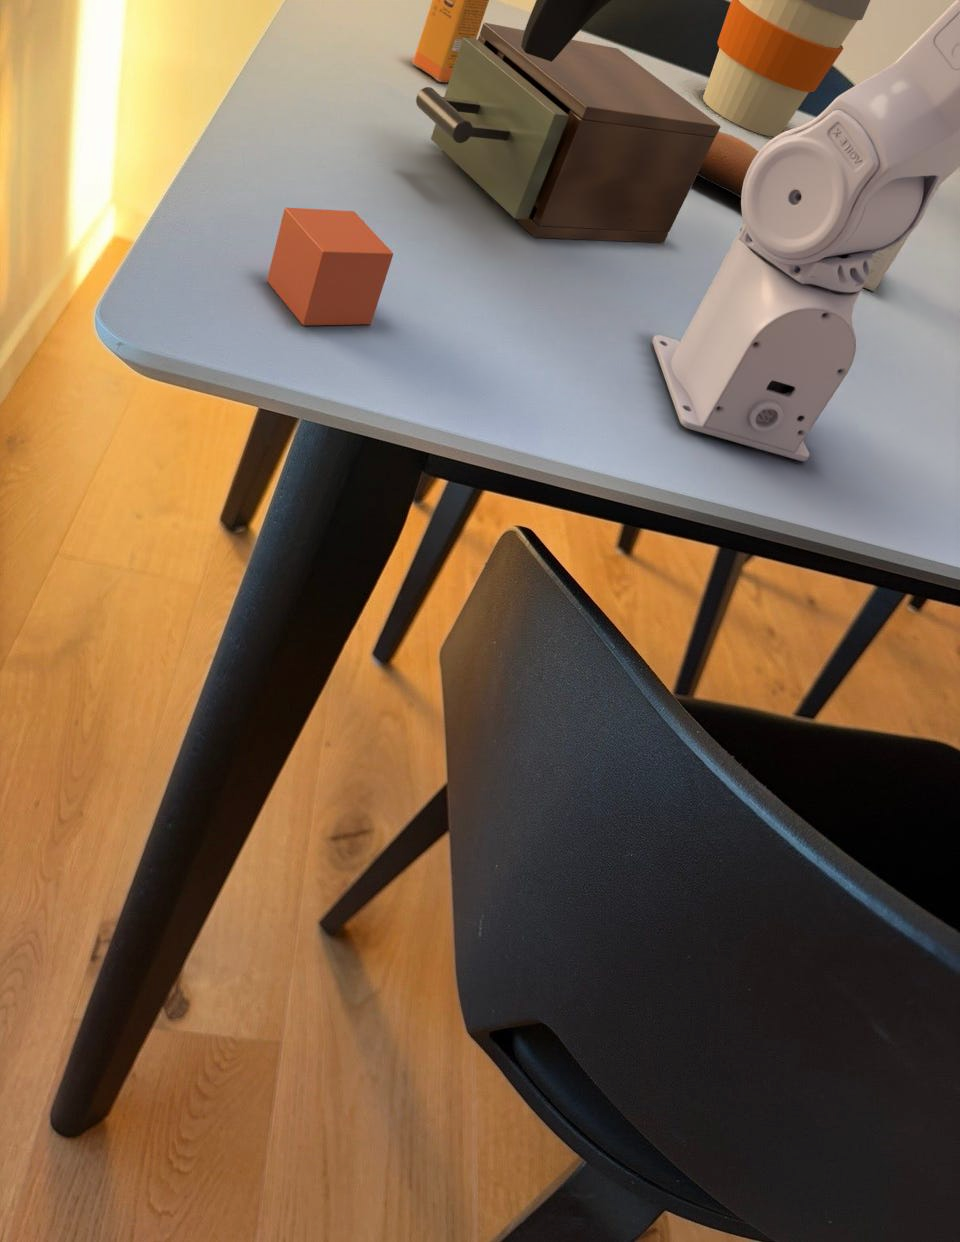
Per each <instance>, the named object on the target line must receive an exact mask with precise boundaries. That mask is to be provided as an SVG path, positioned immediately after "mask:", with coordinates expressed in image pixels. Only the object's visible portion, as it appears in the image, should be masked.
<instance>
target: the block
mask: <svg viewBox="0 0 960 1242" xmlns="http://www.w3.org/2000/svg"><path fill="white" fill-rule="evenodd" d="M280 221H281V222H280V225H279V229H278V234H277V238H276V242H275V245H274V246H275V247H274V250H273V253H272V257H271V262H270V266H269V270H268V273H267V279H266V282H267V283H268V285H270V287H271V288H272V290H274V292H275V293H276V294H277V295H278V297H279V298H280V299H281V300H282V301H283V302H284V304H285V305H286V306H287V307H288V309H289V310H290V311H291V312H292V314H293V315H294V316H295V317H296V318H297V320H298V321H299V322H300V324H301V325H302V326H344V325H345V326H346V325H347V326H348V325H349V326H352V325H371V324H372V323H373V318H374V316H375V313H376V311H377V307H378V303H379V300H380V297H381V294H382V291H383V288H384V285H385V282H386V279H387V275H388V272H389V269H390V266H391V263H392V260H393V256H394V252H393V251H392V250H391V249H390V248H389V247H388V246H387V245H386V244H385V243H384V242H383V241H382V239H381V238H380V237H379V236H378V235H377V234H376V233H375V232H374V230H372V229H371V228H370V226H368V224H367V223H366V222H365V221H364V220H363V219H362V218H361V216H359V215H358V214H357V212H356V211H354V210H338V209H322V208H320V209H319V208H302V207H301V208H300V207H284V209H283V212H282V217H281V220H280Z"/></svg>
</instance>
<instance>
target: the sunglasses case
mask: <svg viewBox="0 0 960 1242" xmlns="http://www.w3.org/2000/svg"><path fill="white" fill-rule="evenodd" d="M714 138H715V139H714V141H713V143H712V145H711V147H710V149H709V151H708V153H707V155H706V158H705V160H704V162H703V164H702V166H701V168H700V170H699V172H698V174H697V176H699V177H701V178H703V179H705V180H706V181H708V182H711V183H712V184H715V185H717V186H719V187H721V188H722V189H724V190H727V191H728V192H730V193H732V194H734V195H736V196H737V197H740V198H741V195H742V188H743V183H744V179H745V176H746V173H747V171H748V169H749V167H750V165H751V163H752V161H753V159H754V158H755V156H756V155H757V153H758V152H759V151H758V150H757V149H756V148H755V147H753V146H752V145H750V144H749V143H747V142H745V141H744V140H743V139H740V138H738V137H736V136H734V135H732V134H729V133H725V132H722V131H720V130H719V131H718V133H717V135H716V137H714Z"/></svg>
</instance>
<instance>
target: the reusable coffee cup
mask: <svg viewBox="0 0 960 1242" xmlns="http://www.w3.org/2000/svg"><path fill="white" fill-rule="evenodd" d="M870 3H871V0H730V3H729V6H728V9H727V12H726V16H725V18H724V21H723V24H722V26H721V27H722V28H721V30H720V33H719V36H718V39H717V42H716V43H717V46H718V52H717V55H716V57H715V61H714V64H713V66H712V70H711V72H710V75H709V78H708V81H707V83H706V86H705V89H704V93H703V96H702V100H703V101H704V103H705V104H706V105H707V106H708V108H710V109H711V110H713V111H714V112H715V113H717V114H718V115H720V116H721V117H723V118H724V119H726V120H727V121H729V122H731V123H733V124H735V125H737V126H739V127H741V128H743V129H746V130H749V131H751V132H753V133H756V134H759V135H761V136H762V135H764V136H766V137H773V138H774V137H776V136H777V135H779V134H781V133H783V132H784V130H785V129H786V127H787V125H788V124H789V123H790V121H791V120H792V118H793V117H794V115H795V114H796V112H797V111H798V110H799V108H800V107H801V105H802V103H803V102H804V101H805V99H806V98H807V96H808V95H809V93H813V92H816V90H817V88H818V87H819V86H820V84H821V83H822V81H823V80H824V79H825V77H826V75H827V74H828V73H829V71H830V69H831V68H832V66H833V65H834V64H835V62H836V61H837V59H838V58H839V57H840V55H841V53H842V52H843V51H844V46H843V45H842V44H843V43H844V41H845V40H846V38H847V37H848V35H849V34H850V32H851V31H852V30H853V28H854V27H855V25H856V24H857V22H858V21H863V19H864V17H865V15H866V12H867V10H868V7H869V5H870Z"/></svg>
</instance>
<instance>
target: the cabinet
mask: <svg viewBox="0 0 960 1242" xmlns="http://www.w3.org/2000/svg"><path fill="white" fill-rule="evenodd" d="M524 32H525V29H519V28H516V27H515V28H514V27H509V26H505V25H500V24H493V23H488V22H482V25H481V28H480V31H479V34H478V36H477V40H479V41H480V42H481V43H482V44H483V45H485V46H486V47H487V48H488V49H489V50H491V51H492V52H493V53H494V54H495V55H496V54H497V51H498V50H499V51H500V52H501V53H503V54H504V55H505V56H506V57H507V58H509V59H510V60H511V61H512V62H513V63H515V64H516V65H517V66H518V67H519V68H521V69H522V70H523V71H524V72H526V73H527V74H528V75H529V76H530V77H532V78H533V79H534V80H535V81H536V82H538V83H539V84H540V85H541V86H542V87H544V88H545V89H546V90H547V91H549V92H550V93H551V94H552V95H553V96H555V97H556V98H557V99H558V100H559V101H561V102H562V103H563V104H564V105H565V106H567V107H568V108H569V109H570V110H571V111H573V112H574V113H575V115H574V118H573V120H572V123H571V125H570V128H569V130H568V133H567V135H566V138H565V140H564V143H563V145H562V148H561V150H560V153H559V155H558V158H557V160H556V163H555V165H554V168H553V170H552V173H551V175H550V178H549V180H548V183H547V185H546V188H545V190H544V193H543V195H542V198H541V200H540V203H539V205H538V208H536V207H535V206H533V209H532V211H531V214H530V216H529V219H515V220H516V222H518V223H519V224H520V225H521V226H522V227H523V228H524V229H525V230H526V232H528V233H530V235H531V236H533V238H540V239H541V238H545V239H567V240H568V239H569V240H590V241H591V240H592V241H593V240H594V241H614V242H638V243H639V242H640V243H660V244H662V243H663V244H664V243H665V242H666V240H667V238H668V236H669V232H670V231H671V229H672V228H673V225H674V223H675V221H676V219H677V217H678V215H679V213H680V210H681V209H682V207H683V205H684V202H685V201H686V199H687V196H688V194H689V192H690V191H691V188H692V186H693V184H694V182H695V180H696V178H697V177H698V172H699V170H700V168H701V166H702V164H703V162H704V160H705V158H706V155H707V153H708V151H709V149H710V147H711V145H712V143H713V141H714V139H715V138H714V137H716V135H717V133H718V131H719V132H720V129H721V125H720V124H718V122H716V121H715V120H713V119H712V118H711V117H710V116H708V115H707V114H705V113H704V112H703V111H701V110H700V109H699V108H697V107H696V106H695V105H693V104H692V103H691V102H690V101H688V100H687V99H686V98H684V97H682V95H680V94H679V93H678V92H676V91H675V90H674V89H672V88H671V87H670V86H668V85H667V84H665V82H663V81H662V80H660V79H659V78H658V77H656V76H655V75H653V73H651V72H649V71H648V70H647V69H646V68H645V67H643V66H642V65H641V64H639V63H638V62H637V61H635V60H634V59H632V58H631V57H630V56H628V55H627V54H626V53H624V51H622V50H621V49H620V48H618V47H612V46H611V47H610V46H608V45H603V44H602V45H601V44H597V43H592V42H586V41H582V40H576V39H572V40H571V41H570V42H569V43H568V44H567V45H566V46H565V48H564V49H563V50H562V51H561V52H560V53H559V54H558V56H557V57H556V58H555V59H554V60H553V61H552V62H551V61H548V60H545V59H542V58H539V57H536V56H533V55H530V54H527V53H525V52H524V50H523V48H522V47H521V44H522V40H523V35H524Z"/></svg>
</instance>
